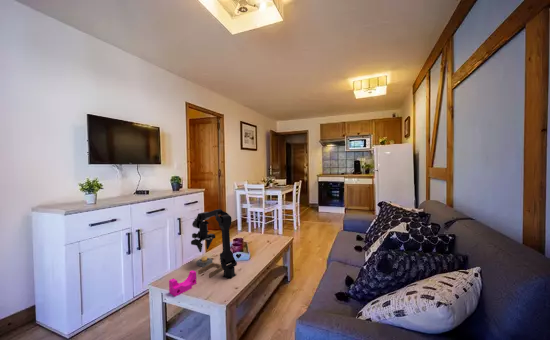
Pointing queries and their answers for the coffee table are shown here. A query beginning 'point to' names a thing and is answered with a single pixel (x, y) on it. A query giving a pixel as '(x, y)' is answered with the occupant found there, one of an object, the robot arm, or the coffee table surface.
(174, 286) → the toy block
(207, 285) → the coffee table surface
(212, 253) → the coffee table surface
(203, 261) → the button
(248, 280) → the coffee table surface
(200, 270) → the brown wooden u-shaped frame
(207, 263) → the button housing
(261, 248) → the coffee table surface
